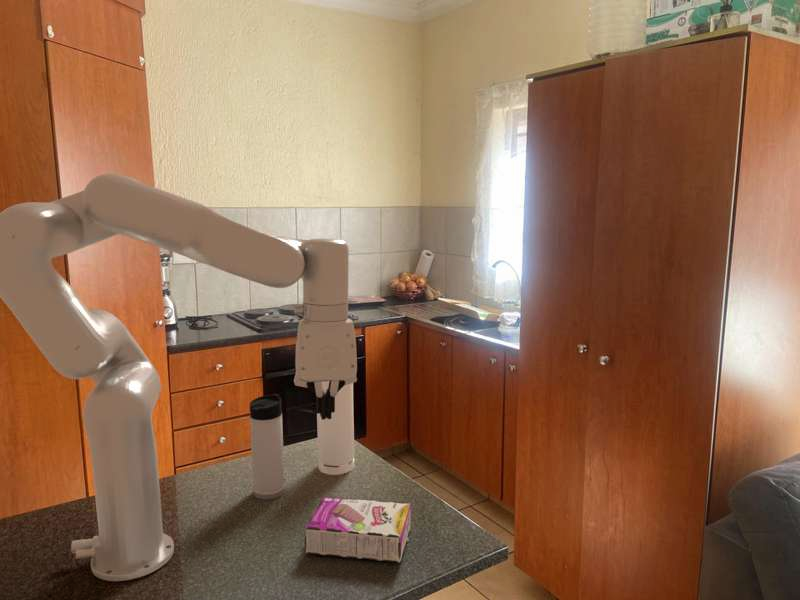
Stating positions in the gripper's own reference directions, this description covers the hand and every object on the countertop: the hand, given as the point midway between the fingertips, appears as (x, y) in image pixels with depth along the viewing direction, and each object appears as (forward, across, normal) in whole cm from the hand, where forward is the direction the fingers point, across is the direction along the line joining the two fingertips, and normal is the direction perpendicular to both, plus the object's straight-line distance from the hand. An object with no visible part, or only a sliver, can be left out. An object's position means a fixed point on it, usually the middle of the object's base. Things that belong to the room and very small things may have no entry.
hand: (325, 416), depth 101 cm
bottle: (+22, +6, +26) cm, 35 cm away
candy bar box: (+19, -2, -1) cm, 19 cm away
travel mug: (+22, -9, +18) cm, 30 cm away
